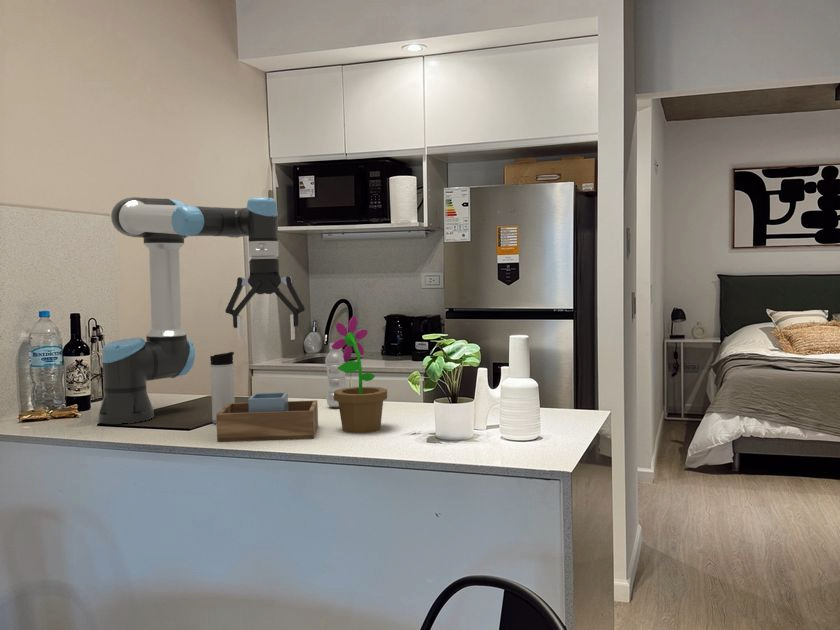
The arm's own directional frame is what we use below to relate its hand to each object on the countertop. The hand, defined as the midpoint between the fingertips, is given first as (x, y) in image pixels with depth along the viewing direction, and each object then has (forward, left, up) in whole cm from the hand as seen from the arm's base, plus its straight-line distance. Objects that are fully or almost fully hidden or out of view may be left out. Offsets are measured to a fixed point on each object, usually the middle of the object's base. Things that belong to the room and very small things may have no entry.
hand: (266, 340), depth 201 cm
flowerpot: (-2, +24, -25) cm, 35 cm away
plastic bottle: (-35, +16, -25) cm, 46 cm away
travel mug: (-17, -15, -25) cm, 34 cm away
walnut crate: (0, 0, -25) cm, 25 cm away
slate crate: (0, 0, -24) cm, 24 cm away
